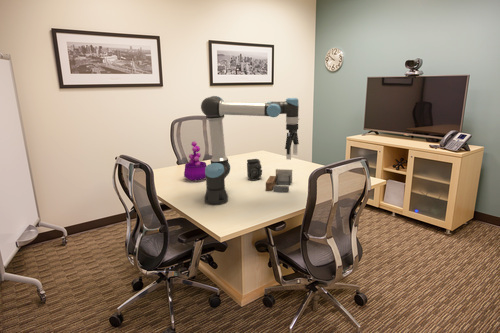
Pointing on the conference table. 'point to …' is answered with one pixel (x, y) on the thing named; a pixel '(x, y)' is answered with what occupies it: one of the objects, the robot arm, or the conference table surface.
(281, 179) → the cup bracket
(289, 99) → the robot arm
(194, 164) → the decorative plant
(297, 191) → the conference table surface
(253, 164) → the camera
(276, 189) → the rest block
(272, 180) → the rail
